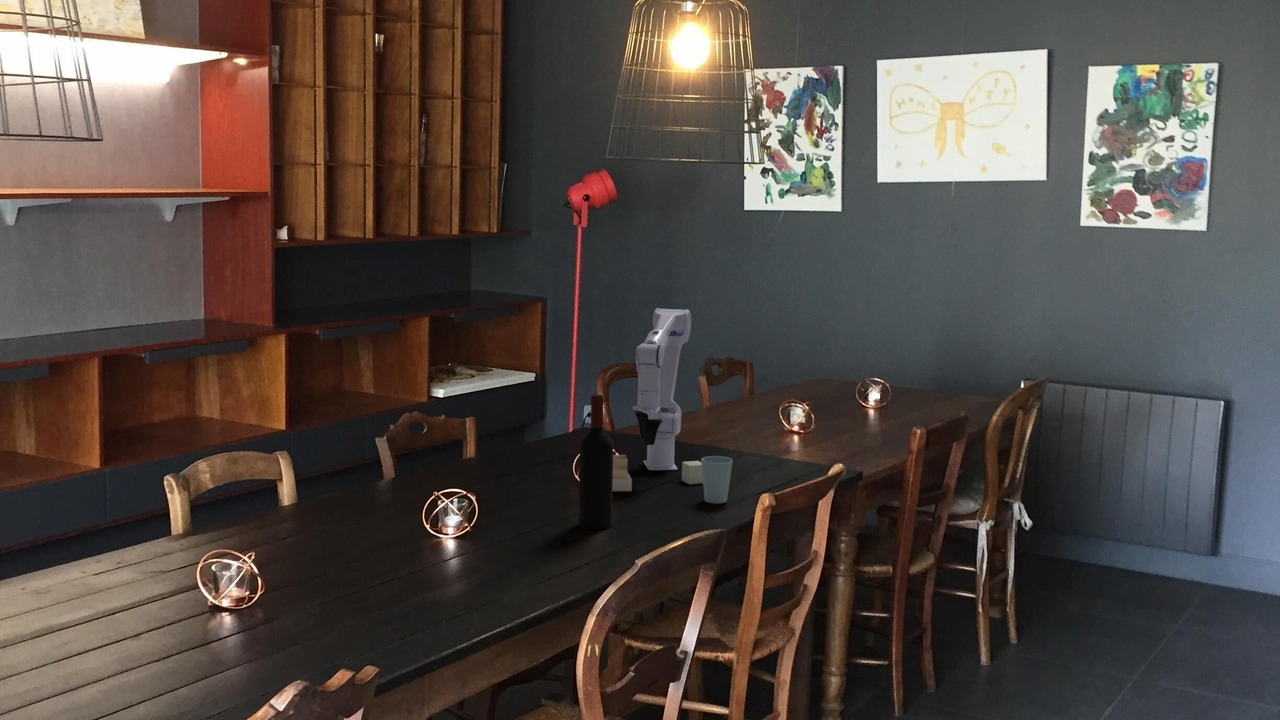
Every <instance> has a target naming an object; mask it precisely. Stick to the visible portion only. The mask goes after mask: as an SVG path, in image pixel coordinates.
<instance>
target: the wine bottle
mask: <svg viewBox="0 0 1280 720" xmlns="http://www.w3.org/2000/svg"><path fill="white" fill-rule="evenodd" d="M590 397H591V398H590V429H589V431H588V432H587V433H586V434H584V436H582V438H581V439H580V443H579V473H578V474H579V475H578V476H579V482H578V483H579V485H578V487H579V490H578V527H579V528H581V529H585V530H589V531H591V530H592V531H599V530H601V531H602V530H603V531H604V530H606V529H610V528H611V527H612V526H613V524H612V523H613V491H612V485H613V455H614V441H613V438H611V436H610V435H609V434H608V433H606V431H604V430H605V429H604V403H605V401H604V400H605V398H604V395H603V394H591V395H590Z"/></svg>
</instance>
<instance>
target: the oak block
mask: <svg viewBox="0 0 1280 720" xmlns="http://www.w3.org/2000/svg"><path fill="white" fill-rule="evenodd" d="M628 459H629V458H627V456H626V454H613V478H627V473H628V461H629V460H628Z"/></svg>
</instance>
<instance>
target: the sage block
mask: <svg viewBox="0 0 1280 720" xmlns="http://www.w3.org/2000/svg"><path fill="white" fill-rule="evenodd" d="M681 481H682V482H684V483H686V484H688V485H697V484H699V483H700V484H703V473H702V461H700V460H691V461H682V465H681ZM700 484H699V485H700Z"/></svg>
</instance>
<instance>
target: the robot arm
mask: <svg viewBox="0 0 1280 720" xmlns="http://www.w3.org/2000/svg"><path fill="white" fill-rule="evenodd" d="M652 315H653V316H652V326H653V329H652V330H651V331H649V333H648V335H647V336H646V337H645V340H644V342H643V343H640V344H639V345H638V346H636V350H635V364H636V373H637V405H634V406H633V405H632V410H633V411H634V414H635V416H636V419H637V421H638V427H639V434H640V437H641V439H642V440H643V439H644V443H645V445H646V446H647V448H646V450H647V451H646V452H647V453H646V454H647V455H646V456H647V457H646V460H643V464H644V465H645V467H646V469H647V470H648V471H677V470H678V467H677V466H676V464H675V444H676V443H675V439H676V436H678V434H680V432H681V429H682V428H681V427H682V415H683V413H682V410H681V406H679V405H678V404H677V402H675V400H674V397H675V396H674V395H675V389H676V382H677V377H678V376H677V375H678V368H679V362H680V355H681V351H682V350H681V349H682V347H683V345H684V344H687V342H689V338H690V336H691V335H690V334H691V328H692V313H691V311H690V310H689V309H688V308H687V309H678V308H677V309H675V308H674V309H673V308H672V309H671V308H660V307H657V308H656V309H655V310H654V311H653V314H652Z"/></svg>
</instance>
